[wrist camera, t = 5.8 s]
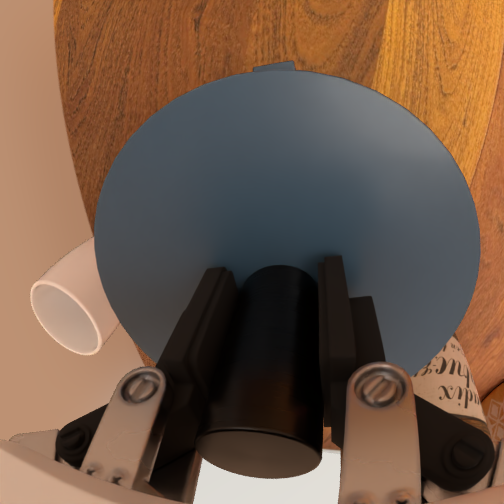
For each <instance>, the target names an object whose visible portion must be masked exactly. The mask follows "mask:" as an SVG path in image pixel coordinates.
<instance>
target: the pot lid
mask: <svg viewBox="0 0 504 504" xmlns="http://www.w3.org/2000/svg"><path fill="white" fill-rule="evenodd" d="M94 250H95V257H96V263H97V269H98V273H99V276H100V280H101V283H102V287H103V289H104V292H105V294H106V297H107V299H108V301H109V303H110V306H111V308H112V309H113V311H114V313H115V315H116V316H117V318H118V320H119V322H120V323H121V325H122V326H123V327H124V329H125V330H126V332H127V333H128V334H129V336H130V337H131V338H132V339H133V341H134V342H135V343H136V344H137V345H138V346H139V347H140V348H141V349H142V350H143V352H144V353H145V354H146V355H148V356H149V357H150V358H151V359H152V360H153V361H154V362H155V363H158V360H159V358H160V356H161V354H162V352H163V350H164V348H165V346H166V344H167V342H168V340H169V338H170V336H171V334H172V332H173V330H174V328H175V326H176V324H177V322H178V320H179V318H180V316H181V315H182V313H183V311H184V310H186V308H187V306H188V304H189V302H190V300H191V298H192V296H193V294H194V292H195V291H196V289H197V287H198V285H199V283H200V281H201V279H202V277H203V275H204V273H205V271H206V269H207V268H216V267H225V268H226V269H227V271H232V272H233V275H234V278H235V282H236V286H237V289H238V293H239V300H238V303H237V307H236V310H235V313H234V316H233V319H232V322H231V326H230V329H229V332H228V335H227V338H226V341H225V345H224V348H223V351H222V354H221V357H220V360H219V364H218V367H217V370H216V373H215V376H214V379H213V383H212V386H211V389H210V392H209V395H208V398H207V402H206V405H205V408H204V411H203V414H202V417H201V421H200V424H199V427H198V430H197V433H196V436H195V440H194V446H195V449H196V451H197V452H198V454H199V455H200V456H201V457H203V458H204V459H205V460H207V461H208V462H210V463H211V464H213V465H215V466H217V467H219V468H221V469H224V470H226V471H229V472H232V473H236V474H239V475H244V476H249V477H256V478H267V479H268V478H269V479H270V478H271V479H274V478H275V479H278V478H289V477H295V476H299V475H303V474H306V473H308V472H310V471H312V470H314V469H315V468H316V467H317V466H318V465H319V464H320V462H321V460H322V446H323V414H324V400H323V396H322V389H321V376H320V363H319V297H318V262H324V257H330V256H340V255H342V258H343V264H344V270H345V276H346V282H347V289H348V295H349V298H353V297H362V296H372V299H373V303H374V307H375V311H376V316H377V320H378V325H379V329H380V334H381V338H382V343H383V348H384V353H385V358H386V362H390V363H393V364H397V365H398V366H400V367H402V368H403V369H405V371H406V372H407V373H408V374H409V375H410V378H411V377H412V376H413V375H415V374H416V373H417V372H418V371H420V370H421V369H422V368H423V367H425V366H426V365H427V364H428V363H429V362H430V361H431V360H432V359H433V358H434V357H435V356H436V355H437V354H438V353H439V352H440V351H441V350H442V349H443V347H444V346H445V345H446V343H447V342H448V341H449V340H450V338H451V337H452V336H453V334H454V333H455V331H456V329H457V328H458V326H459V324H460V323H461V321H462V319H463V317H464V315H465V313H466V311H467V308H468V306H469V304H470V301H471V299H472V296H473V293H474V289H475V285H476V281H477V278H478V271H479V263H480V253H481V252H480V229H479V223H478V218H477V213H476V208H475V204H474V201H473V198H472V195H471V193H470V190H469V187H468V185H467V182H466V180H465V177H464V176H463V174H462V172H461V170H460V169H459V167H458V165H457V163H456V162H455V160H454V158H453V157H452V155H451V153H450V152H449V151H448V150H447V148H446V147H445V146H444V145H443V143H442V142H441V141H440V140H439V139H438V138H437V136H436V135H435V134H434V133H433V132H432V131H431V129H430V128H428V127H427V126H426V125H425V124H424V123H423V122H421V121H420V120H419V119H418V118H417V117H416V116H414V115H413V114H412V113H411V112H410V111H408V110H407V109H406V108H404V107H403V106H401V105H400V104H398V103H396V102H395V101H393V100H391V99H390V98H388V97H386V96H384V95H383V94H381V93H379V92H377V91H376V90H373V89H371V88H368V87H366V86H363V85H361V84H358V83H355V82H353V81H350V80H347V79H344V78H341V77H336V76H332V75H327V74H322V73H317V72H311V71H301V70H264V71H256V72H249V73H242V74H236V75H232V76H229V77H226V78H222V79H219V80H216V81H213V82H209V83H206V84H204V85H201V86H199V87H197V88H195V89H193V90H191V91H189V92H187V93H185V94H183V95H181V96H179V97H177V98H175V99H174V100H173V101H171V102H170V103H168V104H167V105H166V106H164V107H163V108H161V109H160V110H159V111H157V112H156V113H155V114H153V115H152V116H151V117H150V118H149V119H148V120H147V121H146V122H145V123H144V124H143V125H142V126H141V127H140V128H139V129H138V130H137V131H136V132H135V133H134V134H133V135H132V136H131V137H130V138H129V140H128V141H127V142H126V144H125V145H124V147H123V148H122V149H121V151H120V152H119V154H118V155H117V157H116V158H115V160H114V162H113V164H112V166H111V168H110V170H109V172H108V174H107V176H106V178H105V181H104V183H103V187H102V190H101V193H100V196H99V200H98V203H97V209H96V216H95V223H94Z"/></svg>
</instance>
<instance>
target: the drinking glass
mask: <svg viewBox="0 0 504 504" xmlns="http://www.w3.org/2000/svg"><path fill="white" fill-rule="evenodd" d="M30 299H31V304H32V308H33V311H34V313H35V315H36V317H37V319H38V321H39V322H40V323H41V325H42V327H43V328H44V329H45V330H46V331H47V333H48V334H49V335H50V336H51V337H52V338H53V339H54V340H56V341H57V342H58V343H59V344H61V345H62V346H63V347H65V348H67V349H68V350H70V351H72V352H75V353H78V354H81V355H93V354H95V353H97V352H98V351H99V350H100V349H101V348H102V346H103V345H104V344H105V342H106V341H107V340H108V339H109V338H110V336H111V335H112V334H113V332H114V331H115V329H116V328H117V327H118V325H119V324H120V322H119V320H118V318H117V316H116V315H115V313H114V311H113V309H112V308H111V306H110V303H109V301H108V299H107V297H106V294H105V292H104V289H103V287H102V283H101V280H100V276H99V273H98V269H97V263H96V257H95V250H94V236H93V237H91V238H90V239H88V240H87V241H85V242H84V243H82V244H81V245H79V246H78V247H76V248H75V249H73V250H72V251H70V252H69V253H67V254H66V255H65V256H64V257H62V258H61V259H60V260H59V261H57V262H56V263H55V264H54V265H53V266H52V267H51V268H50V269H48V270H47V271H46V272H45V273H44V274H43V275H42V276H41V278H40V279H39V280H38V281H37V282H36V283H35V284H34V285H33V286H32V289H31V293H30Z"/></svg>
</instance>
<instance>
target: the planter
mask: <svg viewBox="0 0 504 504" xmlns="http://www.w3.org/2000/svg"><path fill="white" fill-rule="evenodd" d="M481 405H482V409H483V412H484V416H485V419H486V423H487V427H488V429H489V431H490V434H491V438H492V440H493V441H500V440H501V439H502V438H504V382H503V383H502V384H501V385H499V386H498V387H497V388H496V389H494V390H493V391H492V392H491V393H490V394H489V395H488V396H487V397H486V398H485V399H484V400H483V401H482V403H481Z"/></svg>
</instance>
